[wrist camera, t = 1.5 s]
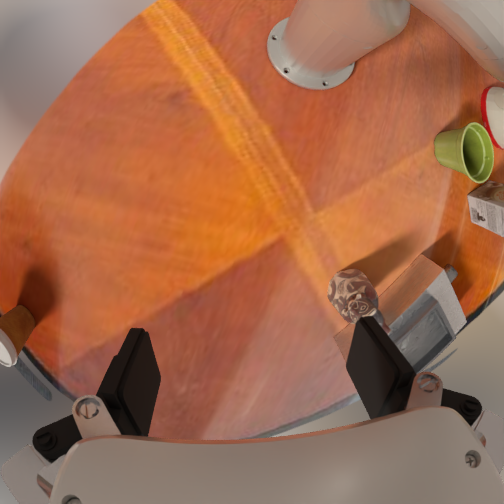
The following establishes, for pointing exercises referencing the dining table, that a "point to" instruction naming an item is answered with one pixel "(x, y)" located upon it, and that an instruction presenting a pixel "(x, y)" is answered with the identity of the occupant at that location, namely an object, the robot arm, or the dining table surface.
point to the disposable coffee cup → (14, 333)
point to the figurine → (355, 297)
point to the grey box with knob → (418, 313)
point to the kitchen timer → (493, 114)
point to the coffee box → (488, 206)
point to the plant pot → (466, 151)
